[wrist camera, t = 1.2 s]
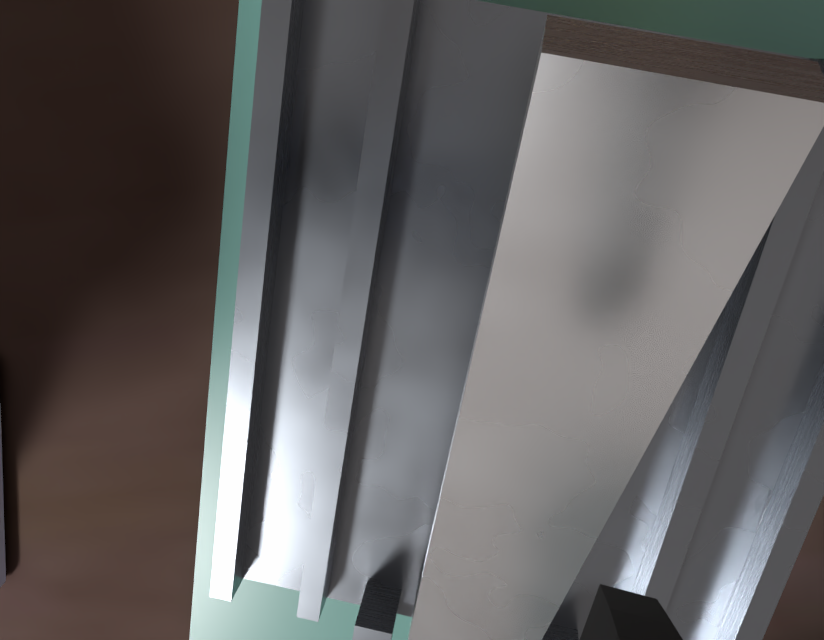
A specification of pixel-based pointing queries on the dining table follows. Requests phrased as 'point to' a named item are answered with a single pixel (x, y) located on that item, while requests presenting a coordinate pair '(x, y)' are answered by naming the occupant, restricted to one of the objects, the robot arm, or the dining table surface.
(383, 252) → the heat sink
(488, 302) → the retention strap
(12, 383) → the dining table surface
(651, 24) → the circuit board
